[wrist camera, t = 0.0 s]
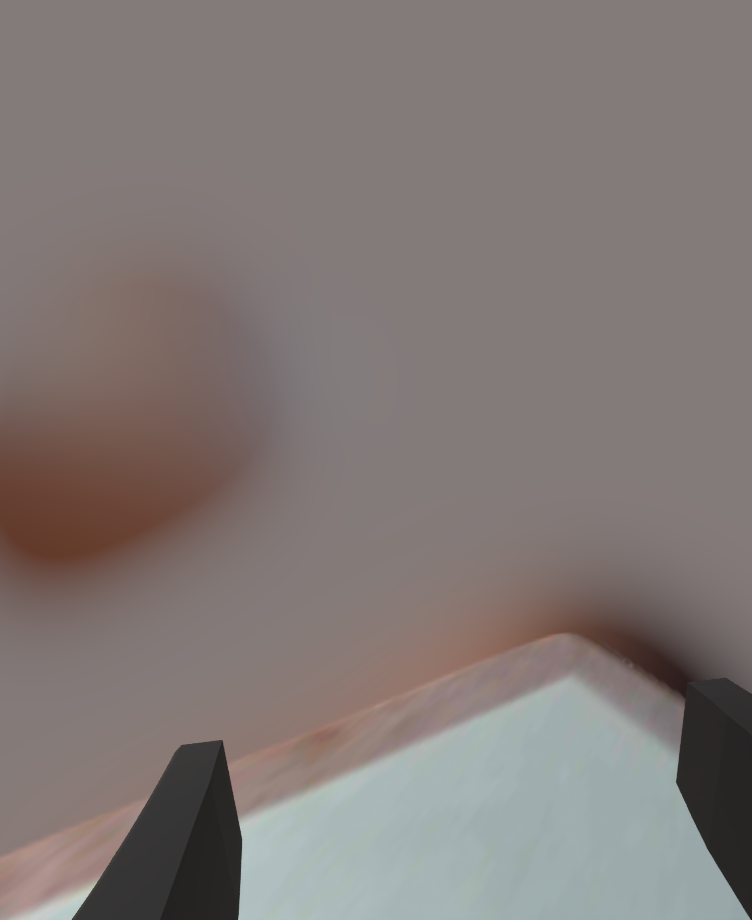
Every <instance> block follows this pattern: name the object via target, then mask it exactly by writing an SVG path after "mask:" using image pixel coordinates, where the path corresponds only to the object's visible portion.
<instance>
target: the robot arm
mask: <svg viewBox="0 0 752 920" xmlns="http://www.w3.org/2000/svg"><path fill="white" fill-rule="evenodd" d="M676 783H677V785H678V788H679V790H680V792H681V794H682V796H683V798H684V801H685V803H686V805H687V807H688V809H689V812H690V814H691V816H692V818H693V820H694V822H695V824H696V826H697V828H698V830H699V832H700V835H701V837H702V839H703V841H704V843H705V845H706V847H707V849H708V851H709V852H710V854H711V856H712V857H713V859H714V861H715V862H716V864H717V866H718V867H719V869H720V870H721V872H722V874H723V875H724V877H725V879H726V880H727V882H728V883H729V885H730V887H731V888H732V890H733V892H734V893H735V895H736V897H737V898H738V900H739V901H740V903H741V905H742V906H743V908H744V909H745V911H746V913H747V914H748V916H749V917H750V919H751V920H752V694H751V693H749V692H748V691H746V690H744V689H743V688H741V687H739V686H738V685H736V684H734V683H733V682H731V681H730V680H728V679H727V678H720V679H712V680H705V681H696V682H689V683H688V685H687V694H686V701H685V710H684V719H683V727H682V736H681V745H680V753H679V762H678V771H677V779H676ZM241 856H242V836H241V831H240V826H239V821H238V816H237V811H236V806H235V801H234V796H233V791H232V786H231V781H230V776H229V771H228V766H227V761H226V756H225V751H224V746H223V741H222V740H219V741H211V742H203V743H194V744H187V745H181V746H180V747H179V748H178V750H177V751H176V752H175V753H174V755H173V757H172V759H171V761H170V763H169V764H168V766H167V768H166V770H165V772H164V773H163V776H162V777H161V779H160V781H159V782H158V784H157V786H156V788H155V790H154V791H153V793H152V795H151V796H150V798H149V800H148V802H147V803H146V805H145V807H144V808H143V810H142V812H141V813H140V815H139V817H138V818H137V820H136V822H135V823H134V825H133V827H132V828H131V830H130V832H129V833H128V835H127V836H126V838H125V840H124V841H123V843H122V844H121V846H120V847H119V849H118V851H117V852H116V854H115V855H114V857H113V859H112V860H111V862H110V863H109V865H108V866H107V868H106V870H105V871H104V873H103V874H102V876H101V878H100V879H99V881H98V882H97V884H96V885H95V887H94V888H93V890H92V891H91V893H90V894H89V896H88V897H87V898H86V900H85V901H84V903H83V904H82V906H81V907H80V908H79V910H78V911H77V913H76V914H75V916H74V917H73V918H72V920H238V915H239V899H240V880H241Z"/></svg>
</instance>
